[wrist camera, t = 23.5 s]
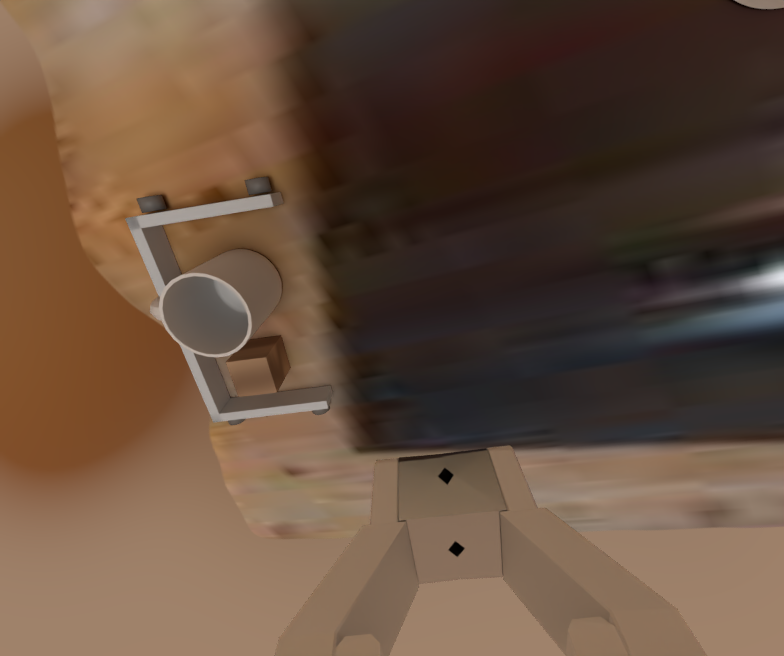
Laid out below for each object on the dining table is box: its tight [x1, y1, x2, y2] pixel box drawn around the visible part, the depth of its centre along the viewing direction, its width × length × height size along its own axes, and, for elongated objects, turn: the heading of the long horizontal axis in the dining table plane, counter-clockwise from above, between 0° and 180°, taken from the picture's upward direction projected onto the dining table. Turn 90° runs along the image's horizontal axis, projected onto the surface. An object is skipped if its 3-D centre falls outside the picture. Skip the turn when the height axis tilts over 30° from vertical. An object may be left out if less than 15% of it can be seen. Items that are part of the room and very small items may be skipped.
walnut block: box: [226, 335, 291, 397], centre depth 38 cm, size 4×4×5 cm
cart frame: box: [125, 177, 333, 425], centre depth 37 cm, size 25×13×3 cm, turn 9°
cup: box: [150, 249, 282, 357], centre depth 33 cm, size 7×10×9 cm
